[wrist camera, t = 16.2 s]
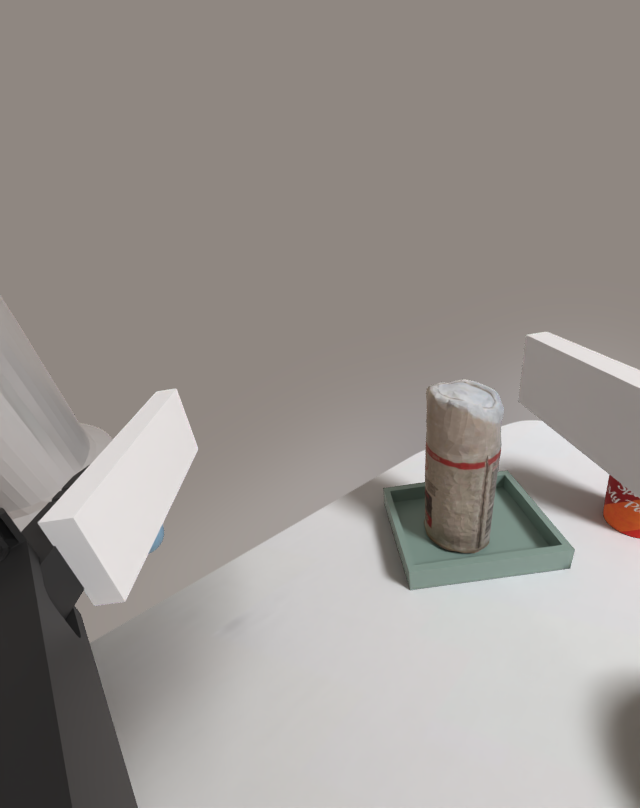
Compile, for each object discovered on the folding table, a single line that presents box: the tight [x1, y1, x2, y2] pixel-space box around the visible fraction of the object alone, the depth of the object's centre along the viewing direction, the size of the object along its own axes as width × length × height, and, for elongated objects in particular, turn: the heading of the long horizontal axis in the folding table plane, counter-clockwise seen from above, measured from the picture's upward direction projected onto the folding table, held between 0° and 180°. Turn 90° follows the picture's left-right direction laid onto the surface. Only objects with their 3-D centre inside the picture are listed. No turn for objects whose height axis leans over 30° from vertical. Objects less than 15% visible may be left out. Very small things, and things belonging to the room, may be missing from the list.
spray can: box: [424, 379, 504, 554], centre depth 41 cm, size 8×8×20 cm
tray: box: [383, 470, 575, 590], centre depth 45 cm, size 18×14×3 cm
